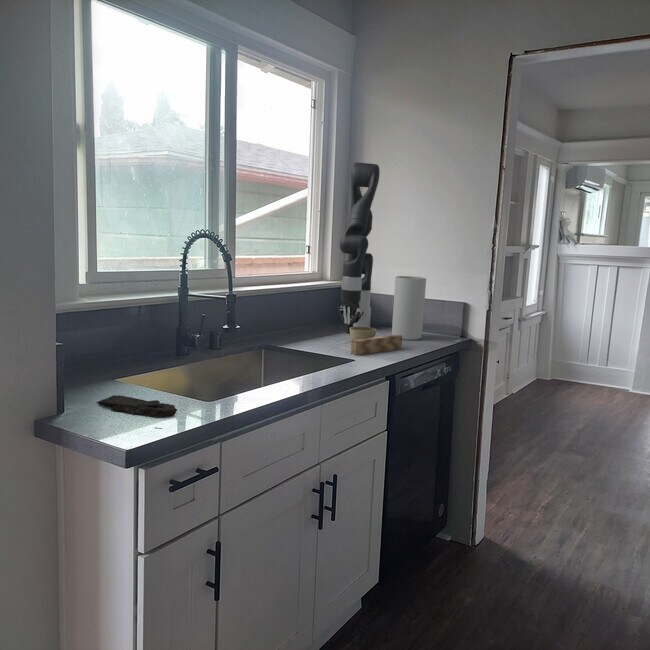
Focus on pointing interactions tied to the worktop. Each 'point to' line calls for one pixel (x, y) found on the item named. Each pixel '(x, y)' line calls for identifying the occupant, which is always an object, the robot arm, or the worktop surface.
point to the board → (376, 344)
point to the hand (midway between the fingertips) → (348, 333)
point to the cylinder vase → (408, 307)
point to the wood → (138, 406)
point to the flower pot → (362, 332)
